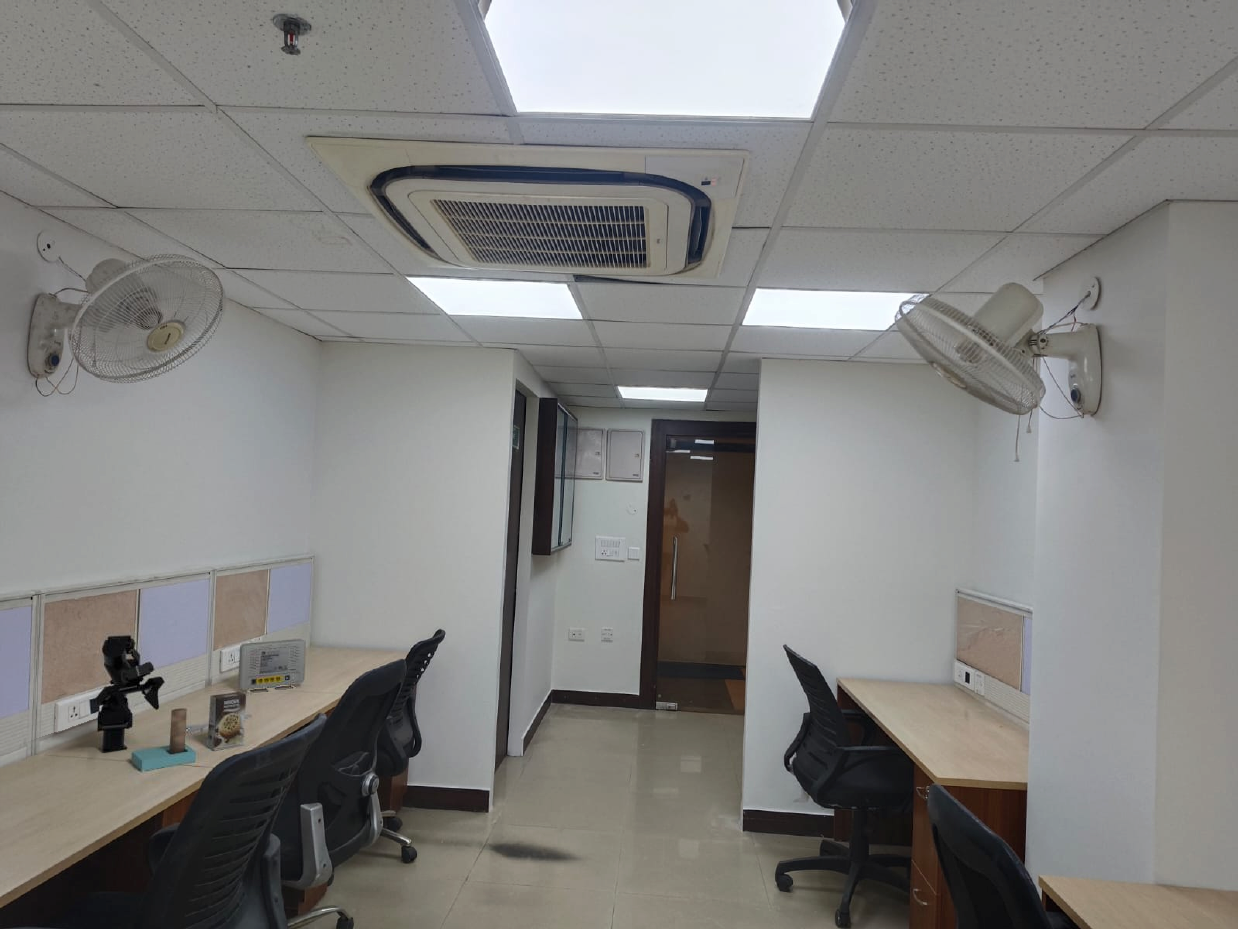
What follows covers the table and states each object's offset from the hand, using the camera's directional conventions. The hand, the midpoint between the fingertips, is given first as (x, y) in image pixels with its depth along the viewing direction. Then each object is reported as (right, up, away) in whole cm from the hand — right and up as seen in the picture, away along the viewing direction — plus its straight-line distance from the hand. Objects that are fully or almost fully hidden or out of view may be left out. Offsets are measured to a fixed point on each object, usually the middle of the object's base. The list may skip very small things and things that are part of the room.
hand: (144, 712), depth 238 cm
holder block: (+8, -14, -4) cm, 16 cm away
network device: (-2, -20, +93) cm, 95 cm away
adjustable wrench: (+3, -17, +37) cm, 41 cm away
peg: (+12, -14, -3) cm, 18 cm away
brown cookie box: (+18, -15, +13) cm, 27 cm away
